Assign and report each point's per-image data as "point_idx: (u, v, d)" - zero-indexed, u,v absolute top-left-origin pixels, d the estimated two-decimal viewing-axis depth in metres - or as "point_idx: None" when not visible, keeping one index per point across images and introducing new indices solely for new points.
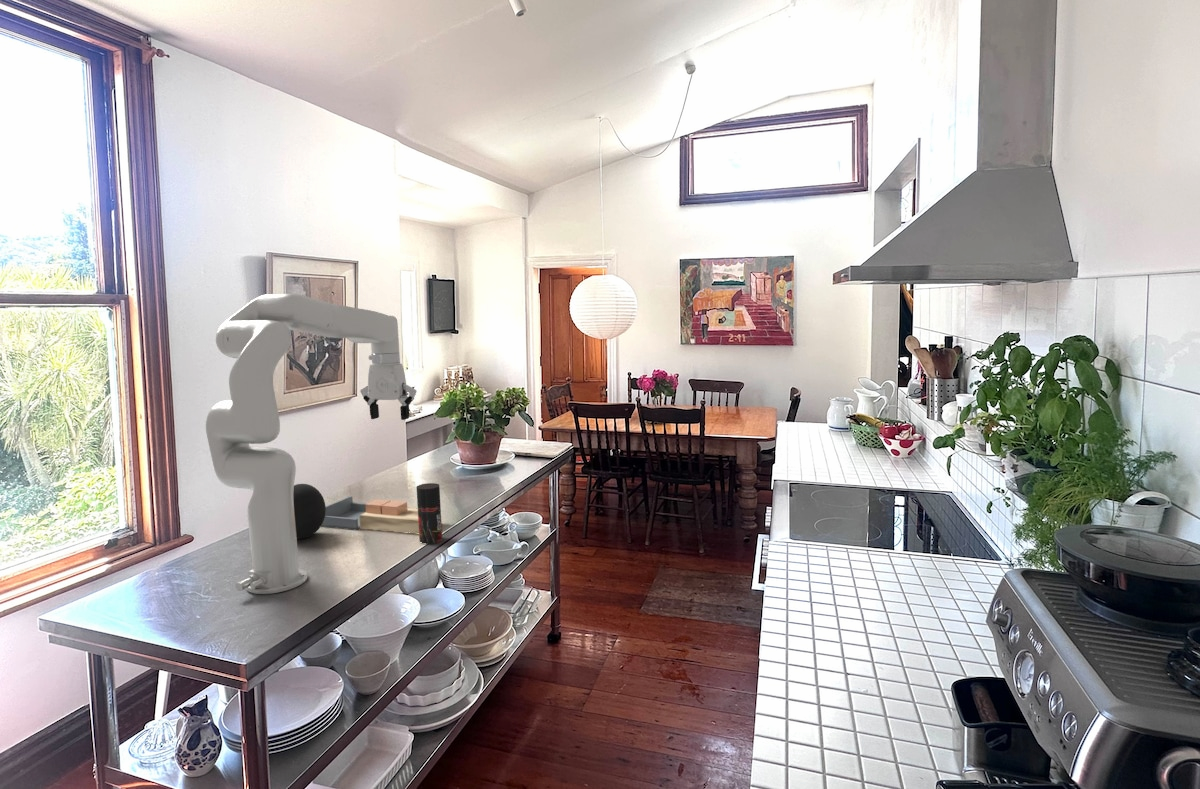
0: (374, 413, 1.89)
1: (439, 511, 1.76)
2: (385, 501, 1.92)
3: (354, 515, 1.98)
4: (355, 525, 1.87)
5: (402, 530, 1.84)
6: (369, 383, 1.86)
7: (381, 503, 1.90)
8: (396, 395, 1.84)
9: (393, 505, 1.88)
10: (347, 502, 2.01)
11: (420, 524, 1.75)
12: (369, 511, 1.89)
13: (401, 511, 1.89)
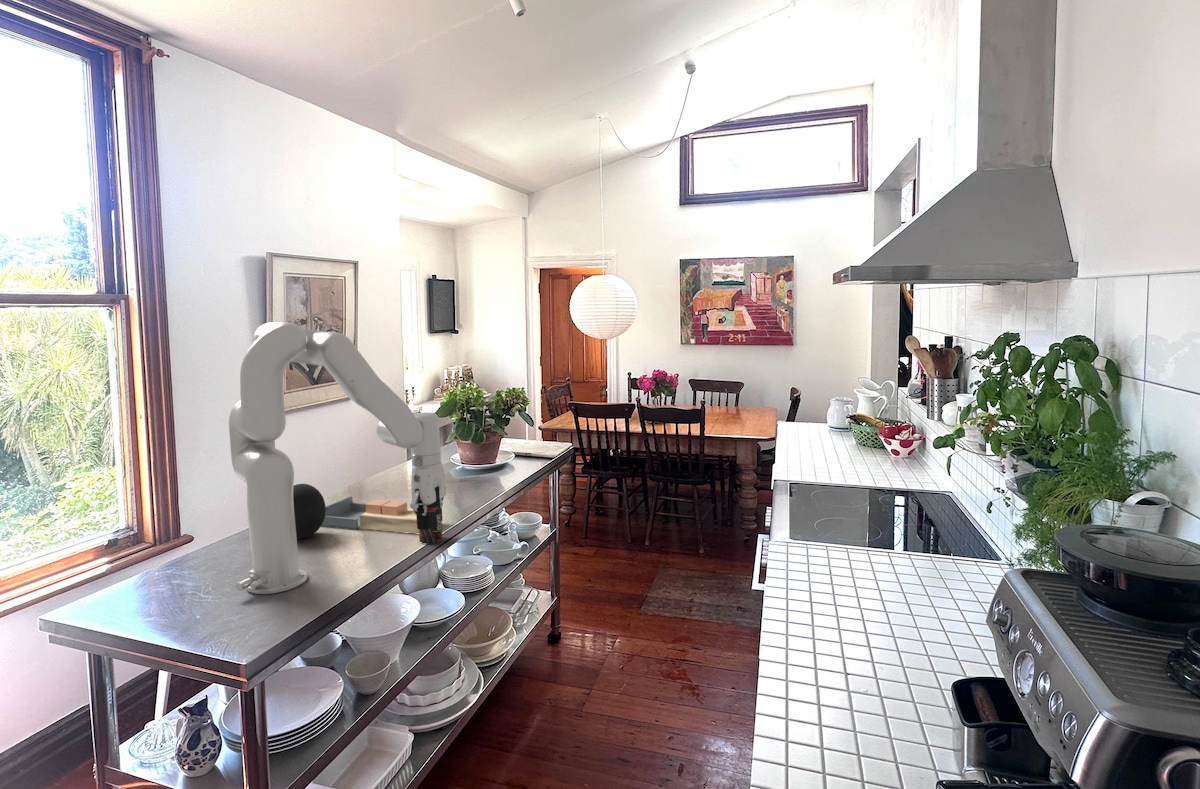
0: None
1: (439, 511, 1.76)
2: (385, 501, 1.92)
3: (354, 515, 1.98)
4: (355, 525, 1.87)
5: (402, 530, 1.84)
6: (427, 488, 1.71)
7: (381, 503, 1.90)
8: (445, 492, 1.79)
9: (393, 505, 1.88)
10: (347, 502, 2.01)
11: None
12: (369, 511, 1.89)
13: (401, 511, 1.89)
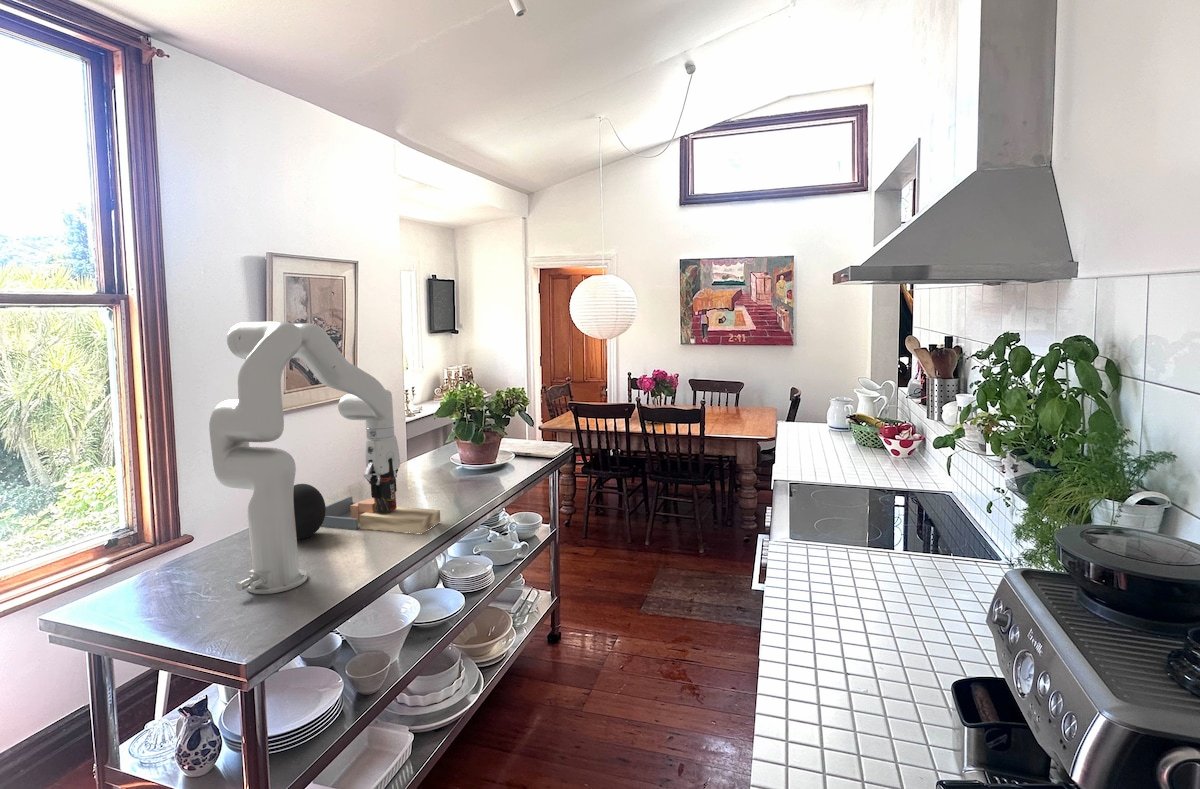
0: None
1: (392, 481, 1.89)
2: None
3: None
4: (355, 525, 1.87)
5: (402, 530, 1.84)
6: (380, 459, 1.84)
7: None
8: (399, 464, 1.92)
9: (369, 502, 1.91)
10: (347, 502, 2.01)
11: None
12: (356, 518, 1.91)
13: None
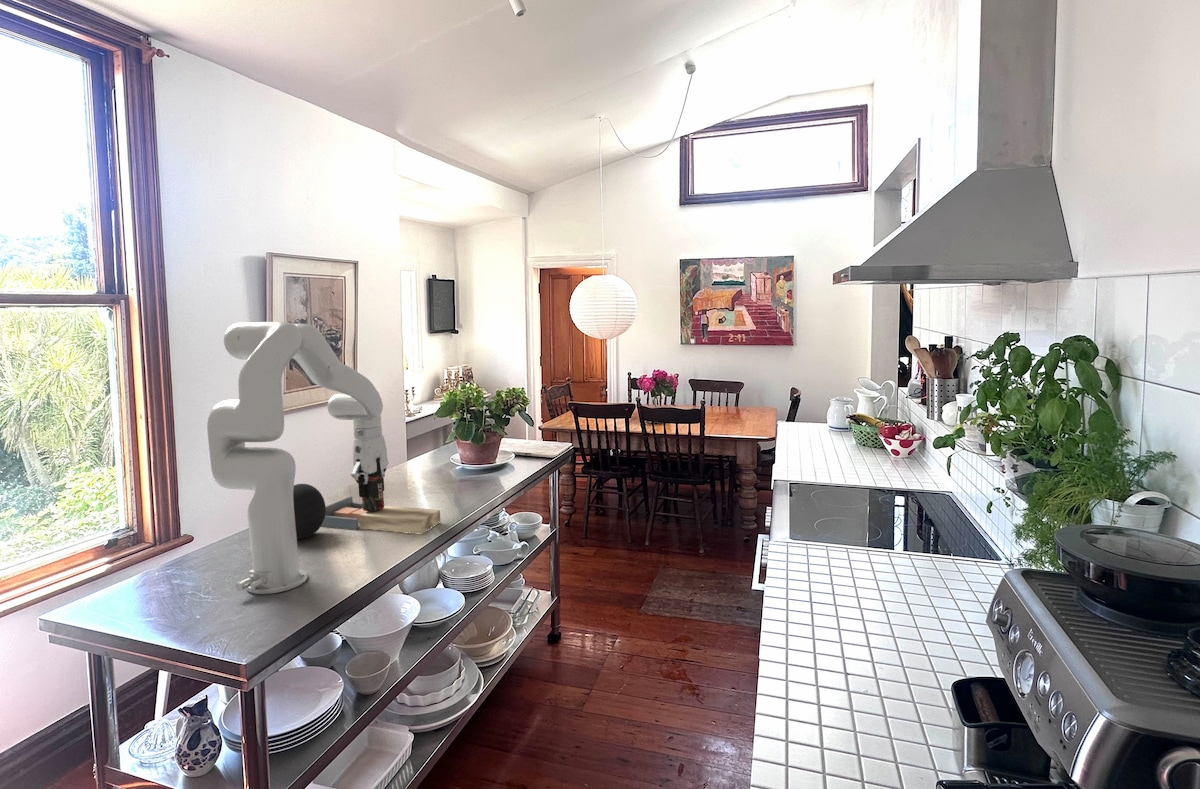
0: None
1: (380, 480, 1.90)
2: None
3: None
4: (355, 525, 1.87)
5: (402, 530, 1.84)
6: (367, 458, 1.85)
7: None
8: (387, 463, 1.93)
9: (362, 513, 1.92)
10: (347, 502, 2.01)
11: None
12: (343, 515, 1.93)
13: None
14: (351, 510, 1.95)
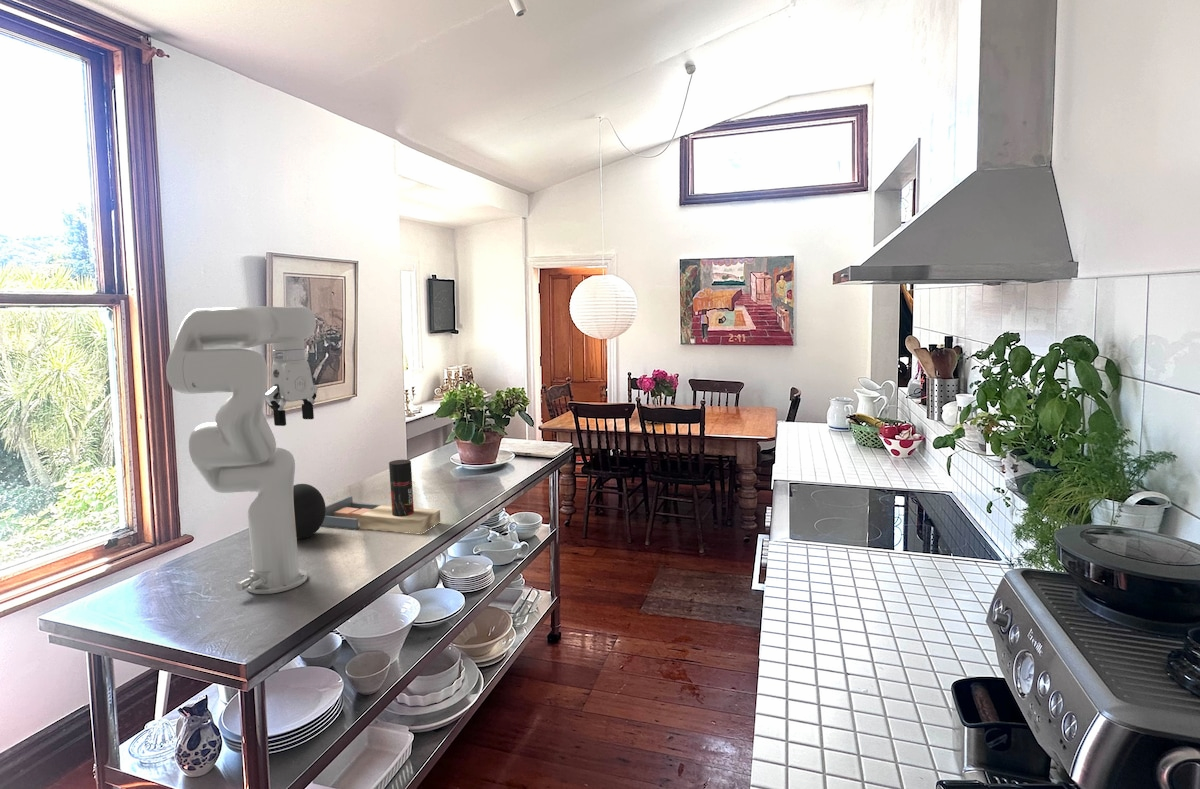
0: None
1: (410, 485, 1.87)
2: None
3: None
4: (355, 525, 1.87)
5: (402, 530, 1.84)
6: (287, 384, 1.65)
7: None
8: (312, 392, 1.73)
9: (362, 513, 1.92)
10: (347, 502, 2.01)
11: (392, 497, 1.86)
12: (343, 515, 1.93)
13: None
14: (351, 510, 1.95)
